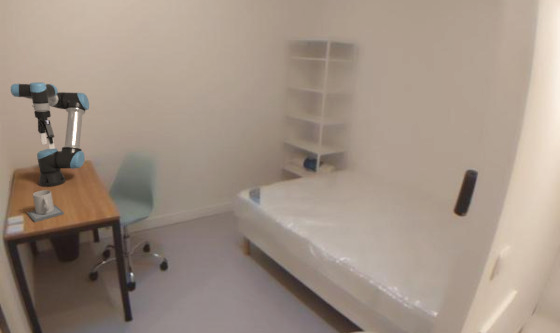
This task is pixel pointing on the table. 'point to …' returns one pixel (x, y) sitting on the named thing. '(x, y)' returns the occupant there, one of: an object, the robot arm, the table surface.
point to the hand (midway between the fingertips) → (48, 146)
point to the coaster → (39, 217)
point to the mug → (43, 202)
